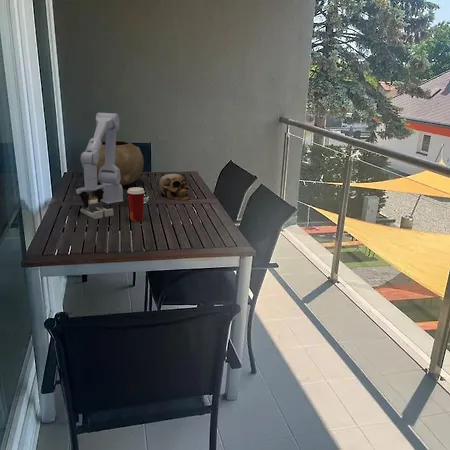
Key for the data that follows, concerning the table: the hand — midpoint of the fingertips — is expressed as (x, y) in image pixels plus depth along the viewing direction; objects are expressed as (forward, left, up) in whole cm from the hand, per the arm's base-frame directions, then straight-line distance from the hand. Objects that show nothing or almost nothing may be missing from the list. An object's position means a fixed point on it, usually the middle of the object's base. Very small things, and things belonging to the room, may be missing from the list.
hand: (92, 206), depth 211 cm
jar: (0, 0, -3) cm, 3 cm away
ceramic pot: (-38, -43, -3) cm, 57 cm away
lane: (0, +4, -3) cm, 5 cm away
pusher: (0, +7, -2) cm, 7 cm away
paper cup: (-10, +22, -3) cm, 24 cm away
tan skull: (-49, 0, -3) cm, 49 cm away
